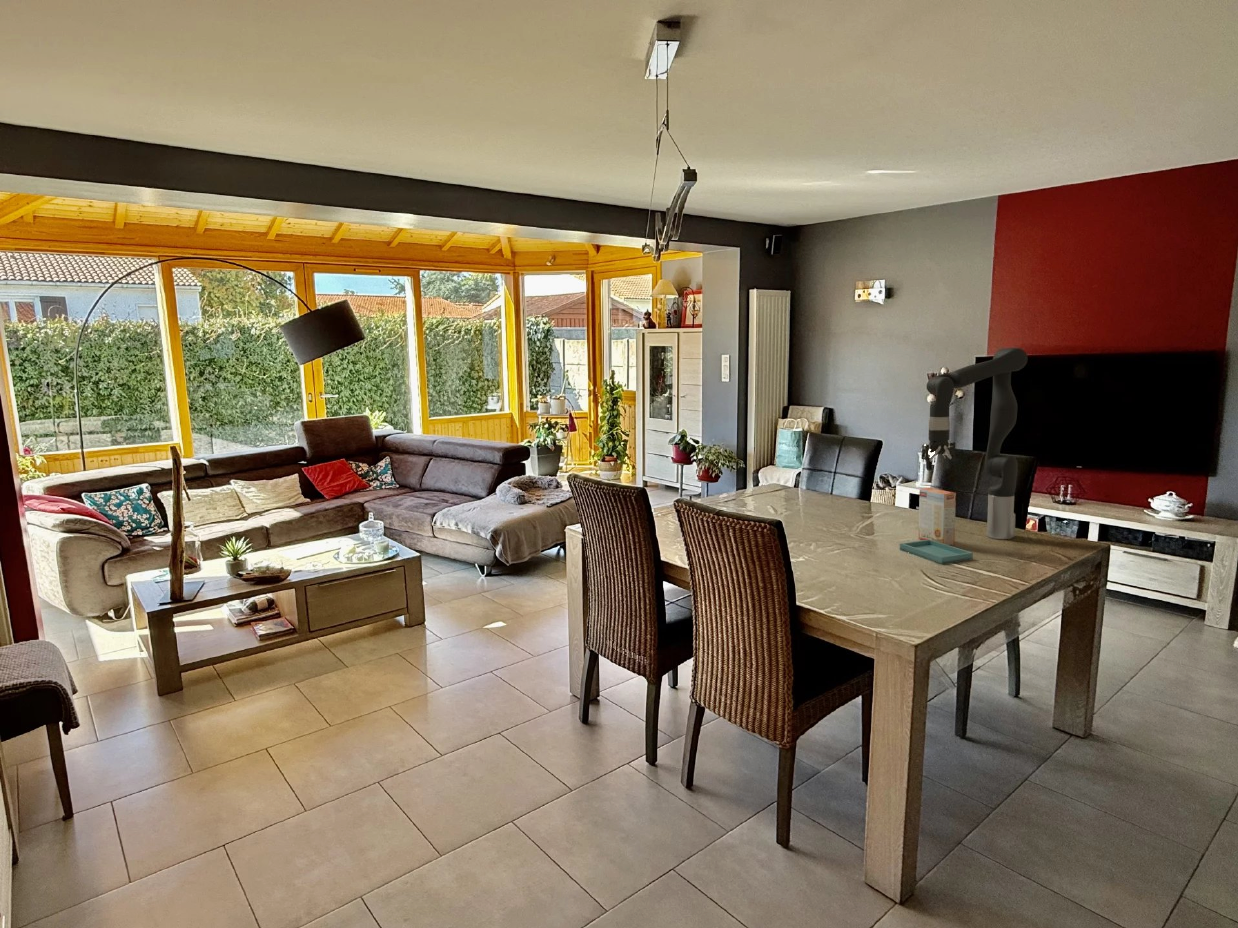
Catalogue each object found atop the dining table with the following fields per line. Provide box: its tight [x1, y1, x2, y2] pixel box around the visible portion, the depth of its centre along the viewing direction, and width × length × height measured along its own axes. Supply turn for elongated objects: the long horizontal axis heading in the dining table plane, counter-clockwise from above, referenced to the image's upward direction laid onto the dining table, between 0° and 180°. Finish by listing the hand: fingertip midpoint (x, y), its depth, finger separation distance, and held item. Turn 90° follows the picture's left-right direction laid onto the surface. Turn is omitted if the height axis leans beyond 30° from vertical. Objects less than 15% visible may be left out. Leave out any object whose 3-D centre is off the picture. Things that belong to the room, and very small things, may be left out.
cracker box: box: [918, 487, 957, 546], centre depth 290 cm, size 14×6×21 cm, turn 18°
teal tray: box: [899, 539, 974, 565], centre depth 274 cm, size 14×22×2 cm, turn 19°
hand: (938, 469), depth 287 cm, fingers open, 8 cm apart
